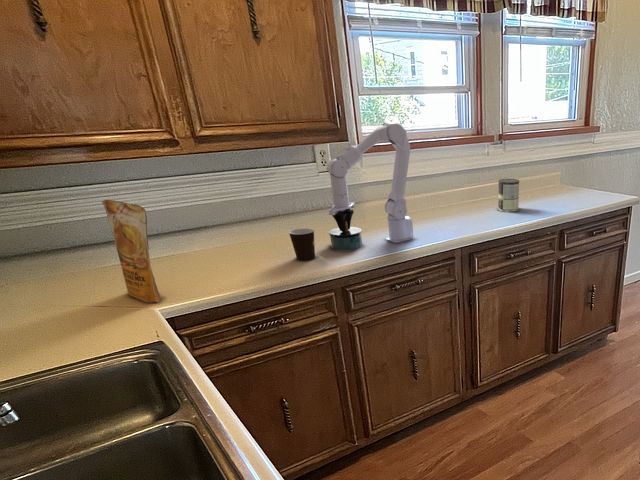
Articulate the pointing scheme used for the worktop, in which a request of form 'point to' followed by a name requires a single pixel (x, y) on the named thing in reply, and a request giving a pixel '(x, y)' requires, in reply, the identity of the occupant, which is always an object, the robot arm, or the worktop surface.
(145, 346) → the worktop surface
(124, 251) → the pancake mix bag
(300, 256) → the coffee mug
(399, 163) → the robot arm
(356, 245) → the pot
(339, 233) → the lid
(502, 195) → the coffee can
